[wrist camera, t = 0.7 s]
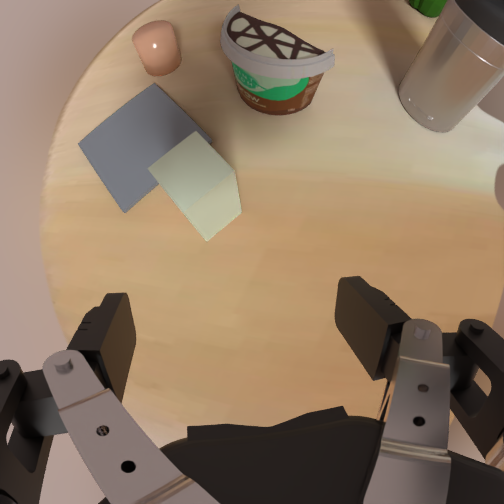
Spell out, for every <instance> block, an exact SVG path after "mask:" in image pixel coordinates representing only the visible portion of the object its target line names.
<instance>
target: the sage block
mask: <svg viewBox="0 0 504 504" xmlns="http://www.w3.org/2000/svg"><path fill="white" fill-rule="evenodd" d="M148 170H149V171H150V173H151V174H152V175H153V176H154V178H155V179H156V180H157V182H158V183H159V184H160V185H161V187H162V188H163V189H164V190H165V192H166V193H167V194H168V195H169V197H170V198H171V199H172V200H173V202H174V203H175V204H176V205H177V207H178V208H179V209H180V210H181V212H182V213H183V214H184V215H185V216H186V218H187V219H188V220H189V221H190V222H191V224H192V225H193V226H194V227H195V229H196V230H197V231H198V232H199V233H200V235H201V236H202V237H203V238H204V239H205V241H206V242H207V241H208V240H210V239H211V238H212V237H213V236H214V235H215V234H217V233H218V232H219V231H220V230H221V229H223V228H224V227H225V226H226V225H227V224H229V223H230V222H231V221H232V220H234V219H235V218H236V217H237V216H238V215H240V214H241V213H242V210H241V204H240V198H239V192H238V187H237V181H236V175H235V171H234V170H233V169H232V167H231V166H230V165H229V164H228V163H227V162H226V161H225V160H224V159H223V158H222V157H221V156H220V155H219V154H218V153H217V152H216V151H215V150H214V149H213V148H212V147H211V146H210V145H209V143H208V142H207V141H206V140H205V139H204V138H203V137H202V136H201V135H200V134H199V133H198V132H197V131H195V132H194V133H192V134H191V135H190V136H188V137H187V138H186V139H184V140H183V141H182V142H180V143H179V144H178V145H176V146H175V147H174V148H172V149H171V150H170V151H169V152H167V153H166V154H165V155H164V156H162V157H161V158H160V159H159V160H157V161H156V162H155V163H154V164H152V165H151V166H150V167H149V168H148Z"/></svg>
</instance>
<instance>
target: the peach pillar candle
mask: <svg viewBox="0 0 504 504" xmlns="http://www.w3.org/2000/svg"><path fill="white" fill-rule="evenodd" d="M132 41H133V43H134V45H135V48H136V50H137V52H138V54H139V57H140V59H141V61H142V63H143V65H144V68H145V70H146V72H147V73H148V74H150V75H152V76H163V75H166V74H169V73H171V72H173V71H174V70H175V69H176V68H177V67H178V66H179V65H180V63H181V55H180V51H179V48H178V45H177V41H176V38H175V35H174V31H173V28H172V25H171V24H170V23H169V22H167V21H153V22H150V23H147V24H145V25H143V26H142V27H140V28H139V29H138V30H137V31H136V32H135V33H134V35H133V37H132Z"/></svg>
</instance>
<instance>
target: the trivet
mask: <svg viewBox="0 0 504 504" xmlns="http://www.w3.org/2000/svg"><path fill="white" fill-rule="evenodd" d="M195 131H197V132H198V133H199V134H200V135H201V136H202V137H203V138H204V139H205V140H206V141H207V142H208V143H209V144H210V143H212V139H211V138H210V137H209V136H208V135H207V134H206V133H205V132H204V131H203V130H202V129H201V128H200V127H199V126H198V125H197V124H196V123H195V122H194V121H193V120H192V119H191V118H190V117H189V116H188V115H187V114H186V113H185V112H184V111H183V110H182V109H181V108H180V107H179V106H178V105H177V104H176V103H175V102H174V101H173V100H172V99H171V98H170V97H169V96H167V95H166V94H165V93H164V92H163V91H162V90H161V89H160V88H159V87H158V86H157V85H156V84H155V83H154V84H152V85H151V86H149V87H148V88H146V89H145V90H144V91H142V92H141V93H140V94H138V95H137V96H135V97H134V98H133V99H131V100H130V101H129V102H127V103H126V104H125V105H124V106H122V107H121V108H120V109H118V110H117V111H116V112H115V113H113V114H112V115H111V116H110V117H108V118H107V119H106V120H105V121H104V122H102V123H101V124H100V125H99V126H98V127H96V128H95V129H94V130H93V131H92V132H91V133H89V134H88V135H87V136H86V137H85V138H84V139H83V140H82V141H81V142H79V143H78V145H79V146H80V148H81V149H82V151H83V153H84V154H85V156H86V157H87V159H88V160H89V162H90V164H91V165H92V167H93V168H94V170H95V171H96V173H97V174H98V176H99V177H100V179H101V180H102V182H103V183H104V185H105V186H106V188H107V189H108V191H109V192H110V194H111V195H112V197H113V198H114V199H115V201H116V202H117V204H118V205H119V207H120V208H121V210H122V211H123V212H124V213H126V212H127V211H128V210H129V209H130V208H131V207H133V206H134V205H135V204H136V203H137V202H138V201H139V200H141V199H142V198H143V197H144V196H145V195H146V194H148V193H149V192H150V191H151V190H152V189H153V188H155V187H156V186H157V185H158V184H159V183H158V182H157V180H156V179H155V178H154V176H153V175H152V174H151V173H150V171H149V170H148V168H149V167H150V166H151V165H152V164H154V163H155V162H156V161H157V160H159V159H160V158H161V157H162V156H164V155H165V154H166V153H167V152H169V151H170V150H171V149H172V148H174V147H175V146H176V145H178V144H179V143H180V142H182V141H183V140H184V139H186V138H187V137H188V136H190V135H191V134H192V133H194V132H195Z"/></svg>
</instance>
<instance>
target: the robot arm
mask: <svg viewBox="0 0 504 504" xmlns="http://www.w3.org/2000/svg"><path fill="white" fill-rule="evenodd" d="M503 76H504V0H447V2H446V4H445V6H444V7H443V9H442V11H441V13H440V15H439V17H438V19H437V21H436V22H435V24H434V26H433V28H432V30H431V31H430V33H429V35H428V37H427V38H426V40H425V42H424V44H423V46H422V47H421V49H420V51H419V53H418V54H417V56H416V58H415V59H414V61H413V63H412V65H411V66H410V68H409V70H408V71H407V73H406V75H405V76H404V78H403V80H402V82H401V83H400V86H399V96H400V100H401V102H402V104H403V106H404V107H405V109H406V110H407V112H408V113H409V114H410V115H411V116H412V117H413V118H414V119H415V120H416V121H417V122H418V123H420V124H421V125H423V126H424V127H426V128H428V129H430V130H433V131H436V132H448V131H450V130H452V129H453V128H454V127H455V126H456V125H457V124H458V123H459V122H460V121H461V120H462V119H463V118H464V117H465V116H466V115H467V114H468V113H469V112H470V111H471V110H472V109H473V108H474V107H475V106H476V105H477V104H478V103H479V102H480V101H481V100H482V98H483V97H484V96H485V95H486V94H487V93H488V92H489V91H490V90H491V89H492V88H493V87H494V86H495V85H496V84H497V83H498V81H499V80H500V79H501V78H502V77H503ZM335 322H336V326H337V328H338V330H339V331H340V332H341V334H342V335H343V337H344V338H345V340H346V341H347V343H348V344H349V346H350V347H351V349H352V350H353V352H354V353H355V355H356V356H357V358H358V359H359V361H360V362H361V363H362V365H363V366H364V368H365V369H366V371H367V372H368V374H369V375H370V377H371V378H372V380H373V381H375V380H379V379H382V378H386V379H387V382H386V385H385V389H384V392H383V396H382V400H381V404H380V407H379V411H378V414H377V418H376V419H373V418H369V417H362V416H348V415H347V413H346V411H345V409H344V407H343V406H339V407H335V408H330V409H325V410H320V411H315V412H310V413H306V414H304V415H301V416H299V417H296V418H294V419H291V420H288V421H286V422H283V423H280V424H278V425H275V426H272V427H258V426H245V425H234V424H218V425H203V426H187V438H183V439H180V440H177V441H174V442H171V443H169V444H167V445H165V446H163V447H161V448H160V449H159V448H158V447H157V446H156V445H155V444H154V443H153V442H152V441H151V439H150V438H149V437H148V436H147V435H146V434H145V432H144V431H143V430H142V429H141V428H140V427H139V425H138V424H137V423H136V422H135V420H134V419H133V418H132V417H131V416H130V414H129V413H128V412H127V410H126V409H125V408H124V407H123V405H122V399H123V395H124V390H125V386H126V382H127V377H128V373H129V369H130V365H131V361H132V357H133V353H134V349H135V345H136V331H135V326H134V321H133V317H132V312H131V307H130V302H129V298H128V295H127V293H107V294H106V296H105V297H104V299H103V301H102V303H101V305H100V307H94V308H93V309H91V310H90V311H89V312H88V313H86V315H85V316H84V318H83V320H82V322H81V324H80V325H79V327H78V330H77V331H76V332H75V334H74V336H73V338H72V340H71V342H70V344H69V345H68V347H67V349H66V350H63V351H59V352H57V353H54V354H53V355H51V356H50V357H48V358H47V359H46V361H45V362H44V364H43V369H42V370H36V371H31V372H25V373H23V371H22V370H21V367H20V365H19V364H18V363H17V362H16V361H14V360H3V361H0V504H39V500H40V494H41V488H42V484H43V479H44V474H45V470H46V465H47V461H48V457H49V452H50V448H51V445H52V440H53V437H54V435H56V434H62V433H69V435H70V437H71V439H72V441H73V443H74V445H75V447H76V448H77V450H78V452H79V454H80V455H81V457H82V459H83V461H84V463H85V464H86V466H87V468H88V469H89V471H90V473H91V474H92V476H93V478H94V479H95V481H96V482H97V484H98V486H99V487H100V489H101V490H102V492H103V493H104V495H105V496H106V497H105V498H104V499H103V500H102V501H101V502H100V503H98V504H504V339H503V338H502V337H501V336H500V335H498V334H497V333H496V332H495V331H494V330H493V329H492V328H491V327H489V326H488V325H487V324H485V323H484V322H482V321H479V320H475V319H465V320H463V321H461V322H460V325H459V328H458V331H457V333H442V331H441V329H440V328H439V327H438V326H437V325H436V324H434V323H433V322H430V321H428V320H424V319H411V318H410V317H409V316H408V315H407V314H406V313H405V312H404V311H403V310H402V309H401V308H400V307H398V306H397V305H395V303H394V302H393V301H392V300H390V298H389V297H388V296H387V295H386V294H385V293H384V292H382V291H380V290H378V289H376V288H374V287H372V286H370V285H369V284H368V283H367V282H366V281H365V280H364V279H362V278H361V277H360V276H353V277H343V278H341V279H340V280H339V283H338V291H337V299H336V307H335ZM479 368H480V369H481V370H482V371H483V372H484V373H485V374H486V375H487V376H488V377H489V379H490V381H491V386H492V387H491V392H490V394H489V396H488V397H487V396H486V394H485V393H484V392H483V391H482V390H481V388H480V387H479V386H478V385H477V384H476V382H475V381H474V378H475V375H476V373H477V371H478V369H479ZM450 409H451V411H452V412H453V413H454V415H455V416H456V418H457V419H458V421H459V422H460V423H461V425H462V426H463V428H464V429H465V430H466V432H467V433H468V435H469V436H470V438H471V439H472V441H473V442H474V444H475V445H476V446H477V448H478V450H479V451H480V453H481V454H482V456H483V457H484V459H485V463H486V464H485V463H482V462H479V461H476V460H474V459H471V458H468V457H465V456H463V455H460V454H458V453H455V452H452V451H450V450H447V446H448V433H449V416H450ZM11 423H12V424H13V426H14V429H13V432H12V434H11V437H10V440H9V443H8V445H7V441H6V435H7V432H8V429H9V426H10V424H11Z"/></svg>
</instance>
